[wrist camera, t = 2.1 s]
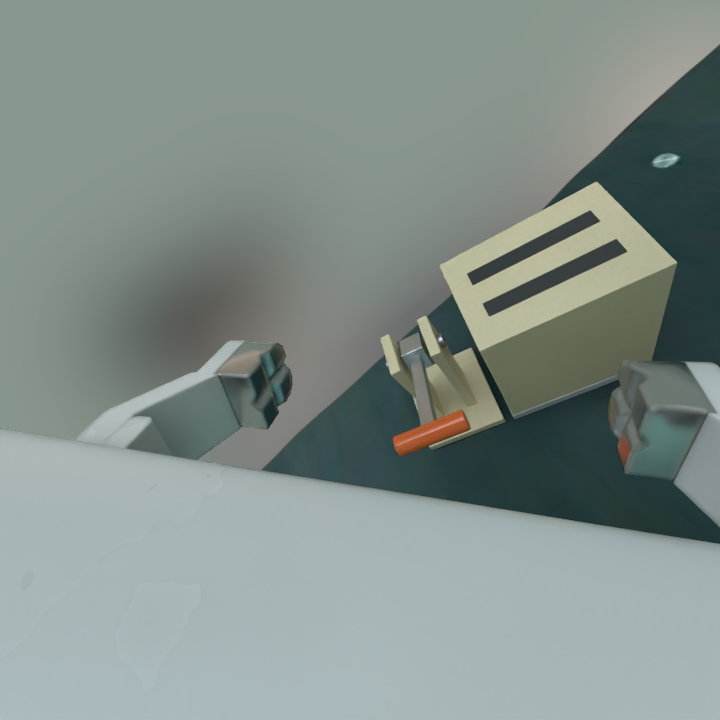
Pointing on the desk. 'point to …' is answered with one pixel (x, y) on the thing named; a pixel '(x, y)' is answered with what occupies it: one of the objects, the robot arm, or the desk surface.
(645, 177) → the desk surface
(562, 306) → the toaster
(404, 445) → the lever
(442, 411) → the lever bracket
